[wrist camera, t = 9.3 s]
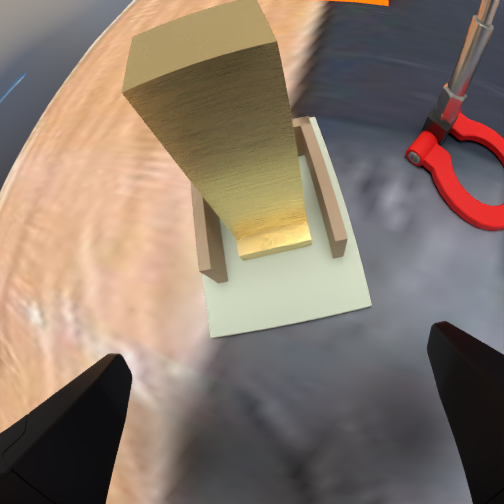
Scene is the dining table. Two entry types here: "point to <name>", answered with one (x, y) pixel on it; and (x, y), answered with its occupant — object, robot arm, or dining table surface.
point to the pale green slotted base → (284, 257)
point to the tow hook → (460, 128)
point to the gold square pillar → (225, 120)
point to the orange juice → (367, 1)
